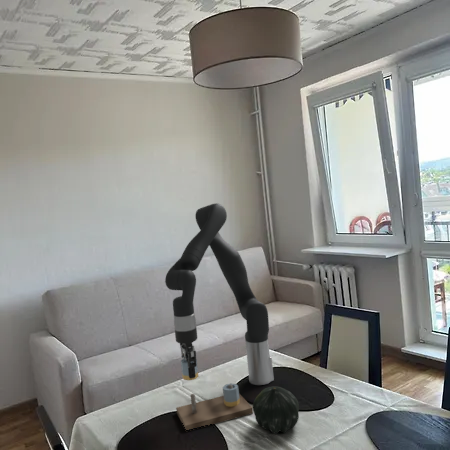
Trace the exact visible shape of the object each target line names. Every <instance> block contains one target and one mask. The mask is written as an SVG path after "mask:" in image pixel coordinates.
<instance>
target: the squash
mask: <svg viewBox="0 0 450 450" xmlns="http://www.w3.org/2000/svg"><path fill="white" fill-rule="evenodd" d="M252 410H253V415H254V417H255V421H256V422H257V424H258V425H259V426H260V427H261V428H263V429H265V430H267V431H268V430H270V431H271V433H272V434H275V435H276V434H278V433H279V432H281V433H286V432H288V431H289V429H292V428H293V427H295V426H296V425H297V423H298V422H299V416H300V415H299V411H300V405H299V401H298V399H297V397H296V396H295V395H294V394H293V393H292V392H291V391H289V390H287V389H286V388H283V387H281V386H277V385H276V386H275V385H274V386H269V387H265V388H263V389H262V390H261V392H259V394H257V395H256V397H255V399H254V400H253V403H252Z"/></svg>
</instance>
